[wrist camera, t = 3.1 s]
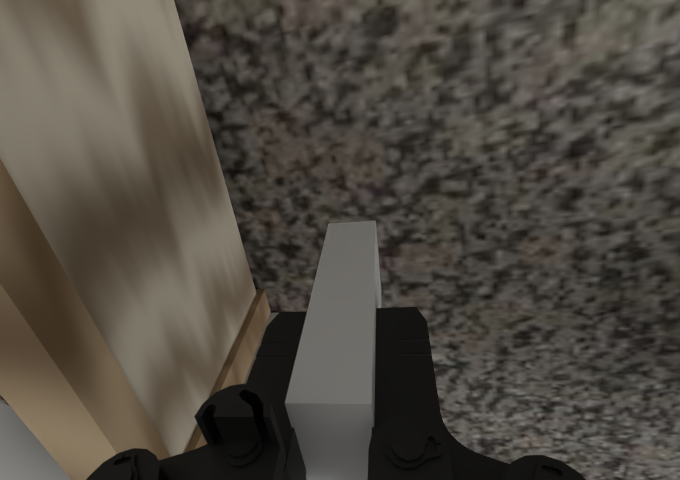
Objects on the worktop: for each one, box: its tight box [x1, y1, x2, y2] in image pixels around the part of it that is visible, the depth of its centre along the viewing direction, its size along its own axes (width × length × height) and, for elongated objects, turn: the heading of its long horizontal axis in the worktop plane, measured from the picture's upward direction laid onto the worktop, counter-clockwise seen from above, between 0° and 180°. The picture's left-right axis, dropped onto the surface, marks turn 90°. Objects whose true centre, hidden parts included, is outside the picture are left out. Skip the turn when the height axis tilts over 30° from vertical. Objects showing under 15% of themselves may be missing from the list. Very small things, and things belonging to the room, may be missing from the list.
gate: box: [0, 0, 271, 480], centre depth 13 cm, size 22×2×12 cm, turn 7°
